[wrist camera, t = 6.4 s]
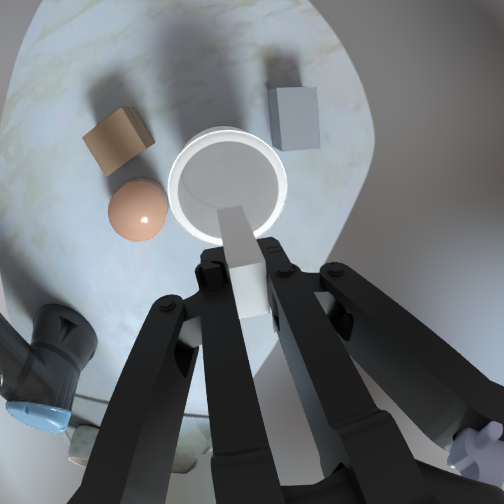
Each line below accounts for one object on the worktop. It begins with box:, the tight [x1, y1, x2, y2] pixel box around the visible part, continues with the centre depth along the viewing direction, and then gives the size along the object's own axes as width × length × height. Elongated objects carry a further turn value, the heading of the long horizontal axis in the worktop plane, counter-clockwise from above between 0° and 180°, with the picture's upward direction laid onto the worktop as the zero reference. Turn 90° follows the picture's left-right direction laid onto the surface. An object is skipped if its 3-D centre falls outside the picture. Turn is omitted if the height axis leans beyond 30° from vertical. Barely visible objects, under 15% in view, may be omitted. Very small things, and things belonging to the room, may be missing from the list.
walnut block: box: [82, 107, 155, 177], centre depth 29 cm, size 6×6×6 cm
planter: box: [67, 425, 99, 468], centre depth 63 cm, size 17×17×15 cm
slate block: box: [268, 87, 320, 151], centre depth 32 cm, size 5×8×5 cm, turn 6°
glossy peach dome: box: [108, 177, 169, 242], centre depth 35 cm, size 8×8×4 cm
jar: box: [168, 126, 287, 246], centre depth 29 cm, size 11×10×15 cm
